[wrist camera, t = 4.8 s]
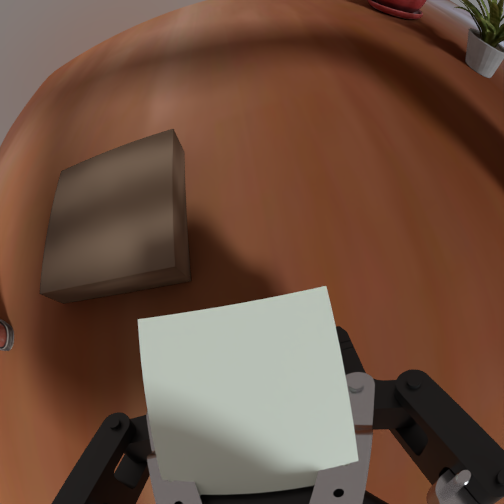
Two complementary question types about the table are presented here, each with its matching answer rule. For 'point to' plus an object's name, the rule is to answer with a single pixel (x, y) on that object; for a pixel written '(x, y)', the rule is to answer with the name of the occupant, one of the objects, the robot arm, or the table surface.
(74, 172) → the walnut base
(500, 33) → the house plant
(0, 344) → the lighter
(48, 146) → the table surface
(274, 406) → the sage pillar
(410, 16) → the plant pot
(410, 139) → the table surface
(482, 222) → the table surface
